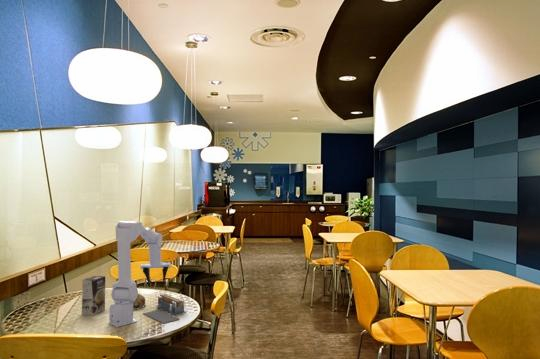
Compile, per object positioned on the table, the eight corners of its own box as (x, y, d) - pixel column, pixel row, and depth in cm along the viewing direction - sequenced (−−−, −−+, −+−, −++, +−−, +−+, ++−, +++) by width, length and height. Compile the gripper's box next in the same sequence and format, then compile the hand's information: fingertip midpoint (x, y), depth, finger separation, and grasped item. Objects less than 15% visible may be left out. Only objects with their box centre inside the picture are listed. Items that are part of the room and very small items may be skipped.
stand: (175, 315, 185) (175, 303, 185) (156, 307, 197) (156, 296, 197) (186, 312, 189) (186, 301, 190) (166, 304, 201) (166, 293, 201)
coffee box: (93, 315, 184) (94, 280, 184) (81, 314, 185) (81, 279, 186) (105, 309, 193) (106, 275, 193) (93, 308, 194) (94, 275, 195)
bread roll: (147, 312, 201) (149, 295, 205) (139, 309, 192) (142, 291, 196) (128, 311, 202) (131, 294, 206) (119, 308, 193) (122, 291, 197)
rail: (177, 306, 187) (178, 301, 187) (159, 299, 198) (159, 294, 198) (182, 305, 189) (182, 300, 189) (164, 298, 200) (164, 293, 200)
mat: (163, 324, 174) (163, 323, 174) (143, 314, 187) (143, 313, 187) (179, 319, 180) (179, 318, 180) (158, 310, 192) (158, 309, 192)
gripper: (170, 252, 209) (172, 277, 211) (142, 253, 208) (143, 279, 209) (168, 257, 202) (170, 283, 204) (139, 258, 201) (140, 284, 202)
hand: (156, 281), depth 206 cm, fingers open, 7 cm apart
